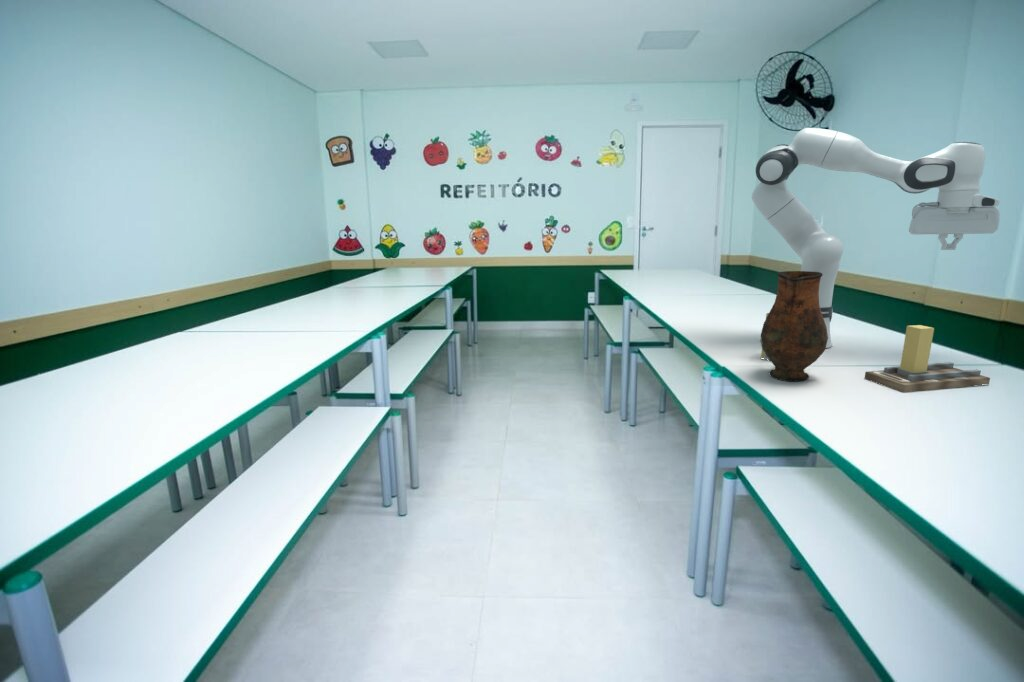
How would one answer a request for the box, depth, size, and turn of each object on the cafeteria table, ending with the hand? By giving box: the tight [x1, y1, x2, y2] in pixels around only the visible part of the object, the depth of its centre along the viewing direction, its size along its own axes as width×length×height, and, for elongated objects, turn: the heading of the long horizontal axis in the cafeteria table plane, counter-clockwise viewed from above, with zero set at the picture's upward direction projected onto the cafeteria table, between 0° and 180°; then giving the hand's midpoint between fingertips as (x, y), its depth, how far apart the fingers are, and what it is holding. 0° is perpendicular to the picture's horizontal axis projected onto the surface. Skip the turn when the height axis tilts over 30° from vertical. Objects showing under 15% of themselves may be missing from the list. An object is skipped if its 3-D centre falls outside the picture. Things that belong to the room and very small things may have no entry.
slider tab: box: [897, 324, 935, 377], centre depth 133 cm, size 5×4×14 cm
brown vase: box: [760, 270, 828, 382], centre depth 142 cm, size 17×21×30 cm
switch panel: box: [864, 361, 991, 393], centre depth 135 cm, size 26×12×4 cm, turn 99°
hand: (948, 249), depth 147 cm, fingers closed
